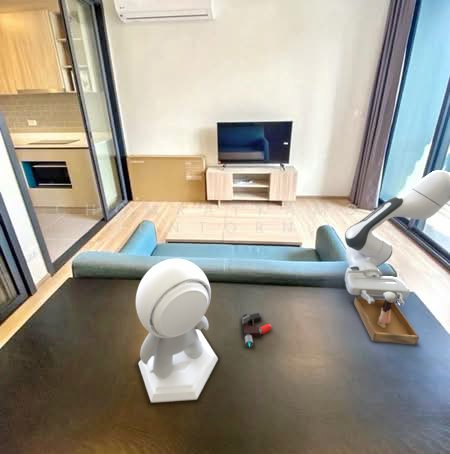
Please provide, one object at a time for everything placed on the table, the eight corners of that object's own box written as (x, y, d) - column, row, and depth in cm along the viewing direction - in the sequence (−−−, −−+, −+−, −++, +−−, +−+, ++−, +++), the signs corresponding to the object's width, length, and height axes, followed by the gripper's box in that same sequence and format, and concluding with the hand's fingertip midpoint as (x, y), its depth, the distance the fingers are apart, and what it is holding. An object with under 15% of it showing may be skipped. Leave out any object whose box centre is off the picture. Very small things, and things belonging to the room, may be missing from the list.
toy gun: (244, 350, 76) (244, 339, 74) (240, 317, 87) (240, 307, 86) (275, 349, 76) (276, 338, 75) (267, 316, 88) (268, 306, 86)
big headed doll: (158, 427, 59) (141, 315, 46) (133, 348, 76) (115, 253, 64) (228, 377, 69) (230, 274, 56) (191, 318, 87) (186, 231, 74)
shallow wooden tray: (390, 306, 92) (393, 299, 91) (416, 345, 78) (419, 337, 77) (353, 303, 93) (355, 296, 92) (372, 341, 79) (374, 333, 78)
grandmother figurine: (389, 332, 81) (398, 302, 77) (375, 327, 83) (384, 297, 79) (389, 316, 87) (398, 287, 83) (376, 311, 89) (384, 283, 85)
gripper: (395, 284, 96) (417, 313, 83) (340, 280, 98) (353, 308, 85) (399, 270, 94) (422, 298, 81) (343, 267, 96) (357, 294, 83)
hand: (386, 303), depth 83 cm, fingers open, 8 cm apart
